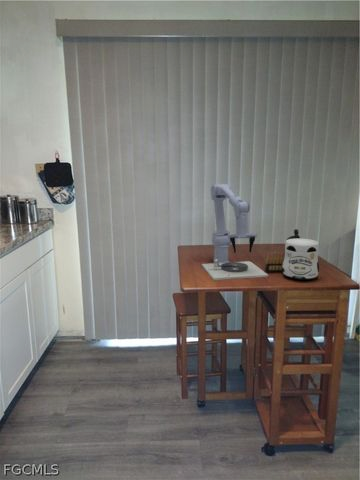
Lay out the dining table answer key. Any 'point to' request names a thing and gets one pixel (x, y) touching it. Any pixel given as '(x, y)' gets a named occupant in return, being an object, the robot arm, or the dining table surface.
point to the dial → (231, 266)
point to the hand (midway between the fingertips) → (242, 252)
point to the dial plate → (222, 275)
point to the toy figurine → (294, 235)
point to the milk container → (301, 259)
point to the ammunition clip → (274, 262)
